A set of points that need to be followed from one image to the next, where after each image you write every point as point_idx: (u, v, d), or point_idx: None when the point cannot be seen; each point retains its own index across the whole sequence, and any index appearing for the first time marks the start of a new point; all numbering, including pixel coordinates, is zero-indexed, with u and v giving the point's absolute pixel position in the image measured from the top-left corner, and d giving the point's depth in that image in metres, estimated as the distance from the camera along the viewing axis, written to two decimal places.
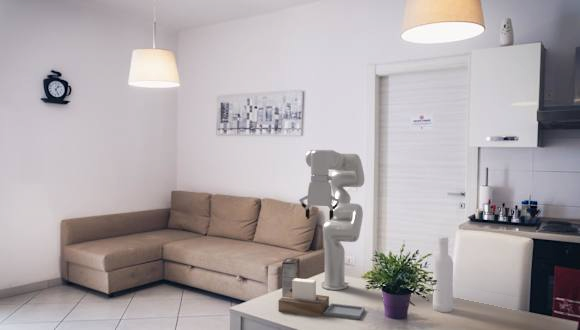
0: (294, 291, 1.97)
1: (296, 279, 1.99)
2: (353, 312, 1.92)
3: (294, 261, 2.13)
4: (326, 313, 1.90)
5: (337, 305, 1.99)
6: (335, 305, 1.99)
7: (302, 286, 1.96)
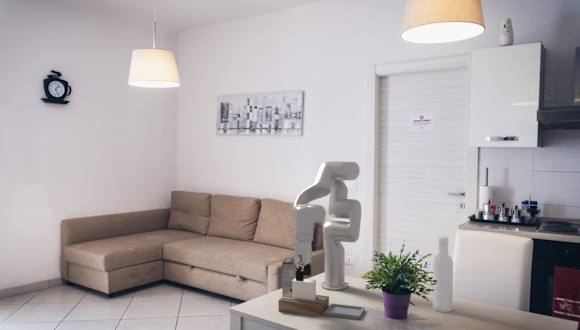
0: (294, 291, 1.97)
1: None
2: (353, 312, 1.92)
3: None
4: (326, 313, 1.90)
5: (337, 305, 1.99)
6: (335, 305, 1.99)
7: (302, 286, 1.96)
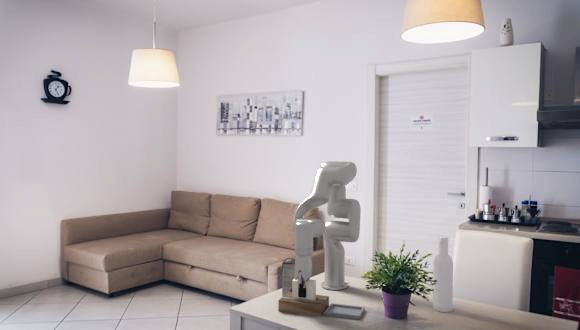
0: (294, 291, 1.97)
1: None
2: (353, 312, 1.92)
3: (294, 261, 2.13)
4: (326, 313, 1.90)
5: (337, 305, 1.99)
6: (335, 305, 1.99)
7: None
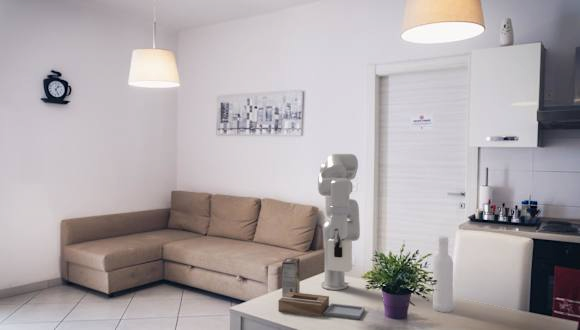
0: (329, 251, 1.92)
1: (331, 239, 1.94)
2: (353, 312, 1.92)
3: (294, 261, 2.13)
4: (326, 313, 1.90)
5: (337, 305, 1.99)
6: (335, 305, 1.99)
7: None
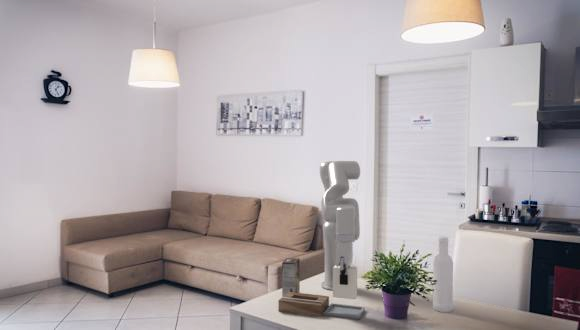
0: (335, 278, 1.92)
1: None
2: (353, 312, 1.92)
3: (294, 261, 2.13)
4: (326, 313, 1.90)
5: (337, 305, 1.99)
6: (335, 305, 1.99)
7: None
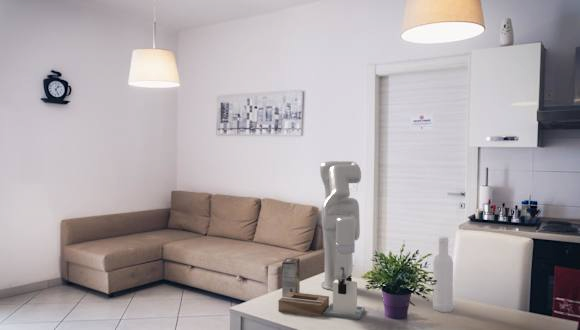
0: (335, 293, 1.92)
1: (336, 281, 1.94)
2: None
3: (294, 261, 2.13)
4: (326, 313, 1.90)
5: None
6: None
7: None
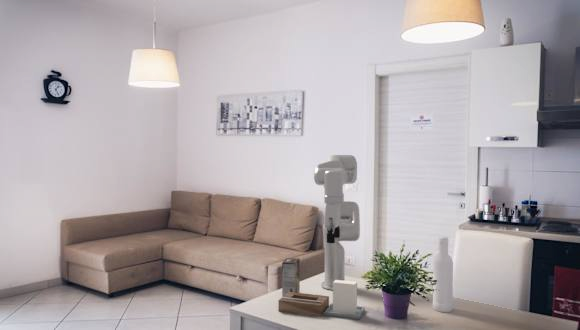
0: (335, 293, 1.92)
1: (336, 281, 1.94)
2: None
3: (294, 261, 2.13)
4: (326, 313, 1.90)
5: None
6: None
7: (343, 288, 1.91)
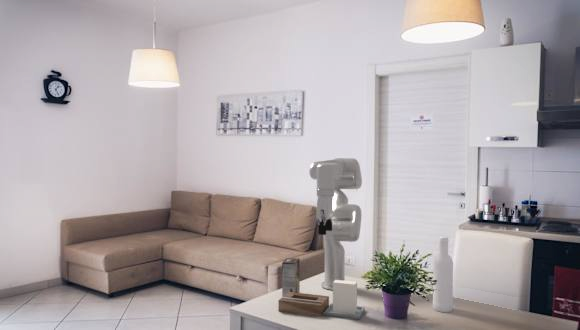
0: (335, 293, 1.92)
1: (336, 281, 1.94)
2: None
3: (294, 261, 2.13)
4: (326, 313, 1.90)
5: None
6: None
7: (343, 288, 1.91)
